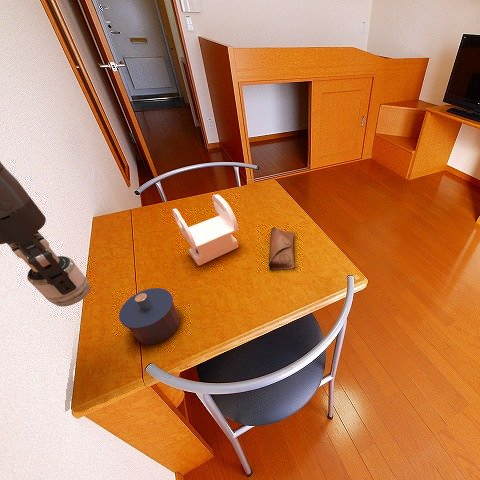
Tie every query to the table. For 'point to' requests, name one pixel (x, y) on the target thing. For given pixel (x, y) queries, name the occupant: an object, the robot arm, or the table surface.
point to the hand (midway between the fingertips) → (61, 281)
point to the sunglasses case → (281, 250)
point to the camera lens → (52, 292)
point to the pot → (159, 329)
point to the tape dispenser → (210, 233)
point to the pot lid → (146, 308)
